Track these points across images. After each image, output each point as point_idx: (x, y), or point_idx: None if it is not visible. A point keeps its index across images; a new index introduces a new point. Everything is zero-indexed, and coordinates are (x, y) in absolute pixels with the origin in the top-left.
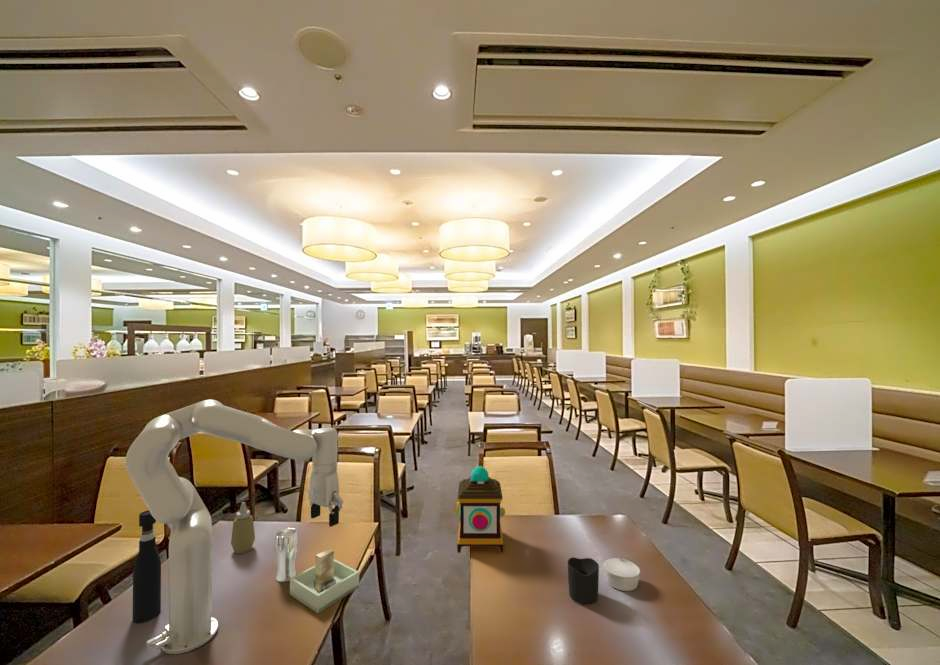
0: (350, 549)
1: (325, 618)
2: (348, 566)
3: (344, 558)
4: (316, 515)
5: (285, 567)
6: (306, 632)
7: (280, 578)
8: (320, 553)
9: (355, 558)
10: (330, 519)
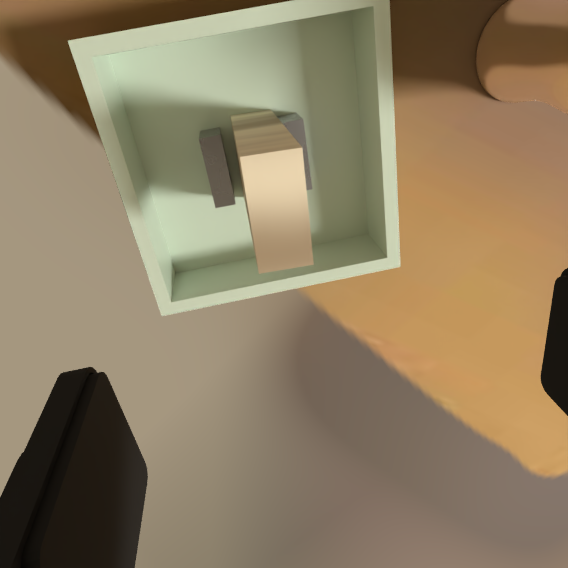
0: (459, 363)
1: (26, 52)
2: (247, 297)
3: (420, 320)
4: (563, 346)
5: (535, 27)
6: None
7: (517, 2)
8: (297, 187)
9: (382, 352)
10: (22, 471)
